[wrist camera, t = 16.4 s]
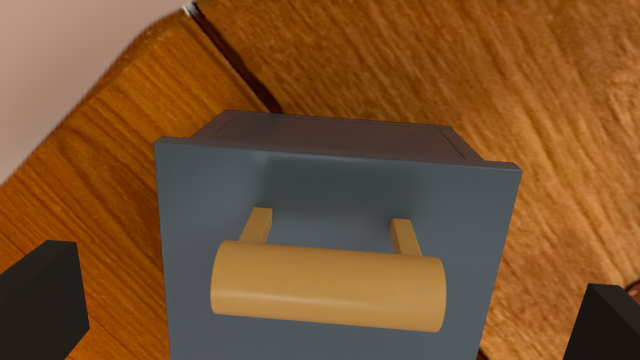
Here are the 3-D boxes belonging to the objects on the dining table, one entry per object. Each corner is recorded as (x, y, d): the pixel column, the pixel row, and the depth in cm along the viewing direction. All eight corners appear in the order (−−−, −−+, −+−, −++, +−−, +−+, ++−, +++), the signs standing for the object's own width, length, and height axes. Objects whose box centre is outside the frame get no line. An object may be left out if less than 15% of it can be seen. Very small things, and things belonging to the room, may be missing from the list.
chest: (225, 109, 24) (163, 156, 16) (450, 125, 24) (509, 183, 15) (229, 354, 30) (187, 480, 22) (407, 369, 30) (432, 503, 22)
